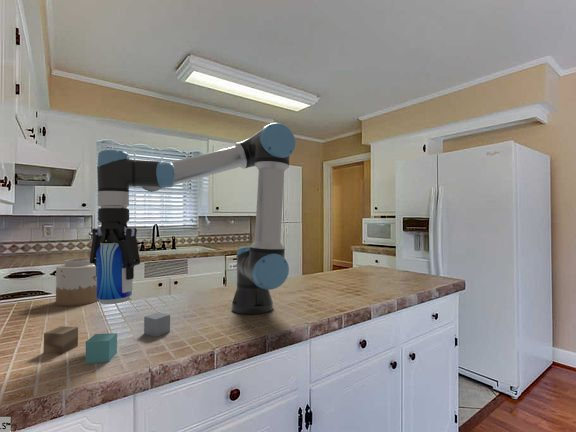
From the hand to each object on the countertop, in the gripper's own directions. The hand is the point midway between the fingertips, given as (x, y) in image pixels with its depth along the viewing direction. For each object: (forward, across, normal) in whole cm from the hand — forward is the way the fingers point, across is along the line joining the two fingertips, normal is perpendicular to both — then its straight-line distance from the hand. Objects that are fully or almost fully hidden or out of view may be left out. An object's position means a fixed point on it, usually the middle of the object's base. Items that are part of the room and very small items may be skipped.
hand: (114, 290), depth 86 cm
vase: (+14, +48, -26) cm, 56 cm away
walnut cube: (+14, +7, +9) cm, 18 cm away
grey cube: (+14, -7, -9) cm, 18 cm away
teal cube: (+14, -7, +9) cm, 18 cm away
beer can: (+3, 0, 0) cm, 3 cm away
